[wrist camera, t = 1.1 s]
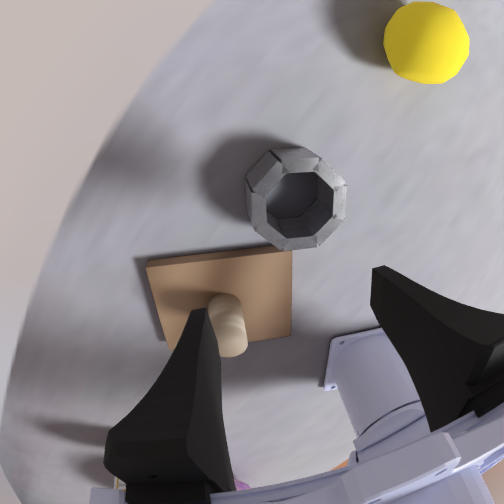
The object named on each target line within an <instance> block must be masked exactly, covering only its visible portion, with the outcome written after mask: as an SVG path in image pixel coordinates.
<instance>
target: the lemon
mask: <svg viewBox="0 0 504 504" xmlns="http://www.w3.org/2000/svg"><path fill="white" fill-rule="evenodd" d="M383 45H384V49H385V52H386V55H387V58H388V61H389V63H390V65H391V67H392V69H393V71H394V72H395V73H396V74H397V75H398V76H400V77H402V78H405V79H408V80H411V81H415V82H419V83H423V84H441V83H444V82H445V81H447V80H448V79H450V78H452V77H453V76H455V75H456V74H457V73H458V71H459V70H460V68H461V67H462V65H463V64H464V62H465V60H466V59H467V57H468V55H469V37H468V34H467V32H466V30H465V27H464V25H463V23H462V21H461V20H460V18H459V16H458V15H457V13H456V12H455V11H454V10H453V9H450V8H448V7H445V6H442V5H439V4H437V3H434V2H412V3H410V4H407V5H405V6H403V7H400V8H398V9H397V11H396V12H395V14H394V15H393V16H392V18H391V19H390V20H389V22H388V24H387V26H386V28H385V33H384V41H383Z"/></svg>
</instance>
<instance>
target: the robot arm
mask: <svg viewBox="0 0 504 504" xmlns="http://www.w3.org/2000/svg"><path fill="white" fill-rule="evenodd" d="M370 306H371V308H372V310H373V312H374V314H375V316H376V319H377V321H378V323H379V324H380V326H381V327H382V328H378V329H374V330H369V331H365V332H360V333H355V334H350V335H346V336H341V337H336V338H334V339H332V340H331V344H330V350H329V357H328V363H327V369H326V375H325V380H324V386H323V388H324V390H325V391H330V390H334V389H338V390H339V393H340V395H341V398H342V400H343V403H344V405H345V408H346V410H347V413H348V415H349V418H350V420H351V423H352V426H353V428H354V431H355V433H356V436H357V439H355V440H354V441H353V442H354V445H355V448H356V450H355V451H353V452H351V454H350V457H349V460H348V464H347V466H345V467H342V468H339V469H336V470H332V471H329V472H325V473H322V474H318V475H314V476H310V477H306V478H302V479H298V480H294V481H289V482H284V483H280V484H275V485H269V486H264V487H258V488H252V489H246V490H239V491H236V486H235V482H234V477H233V473H232V468H231V463H230V457H229V452H228V446H227V441H226V435H225V428H224V422H223V414H222V393H221V361H220V354H219V347H218V341H217V338H216V335H215V332H214V329H213V326H212V323H211V321H210V318H209V315H208V312H207V309H206V307H204V308H199V309H194V310H191V312H190V314H189V317H188V319H187V322H186V324H185V327H184V329H183V332H182V334H181V336H180V339H179V341H178V343H177V345H176V347H175V349H174V351H173V353H172V355H171V357H170V359H169V361H168V363H167V364H166V366H165V368H164V369H163V371H162V373H161V374H160V376H159V377H158V379H157V380H156V382H155V383H154V384H153V386H152V387H151V389H150V390H149V391H148V393H147V394H146V395H145V396H144V398H143V399H142V400H141V401H140V402H139V403H138V404H137V405H136V406H135V408H134V409H133V410H132V411H131V412H130V413H129V414H128V415H127V416H126V417H125V418H123V419H122V420H121V421H120V422H119V423H118V424H117V425H115V426H114V427H113V428H112V429H111V430H109V432H108V436H107V440H106V445H105V454H104V462H103V463H104V466H105V468H106V469H107V470H108V471H109V472H110V473H112V474H113V475H114V476H116V477H117V478H118V479H120V480H121V481H123V482H124V483H125V484H126V491H123V490H119V489H109V488H95V487H93V488H91V494H90V504H495V503H494V500H493V498H492V496H491V494H490V492H489V490H488V488H487V486H486V484H485V482H484V480H483V478H482V476H481V474H483V473H484V472H485V471H487V470H489V469H490V468H491V467H493V466H494V465H495V464H497V463H498V462H499V461H501V460H502V459H503V458H504V314H500V313H495V312H490V311H485V310H481V309H477V308H474V307H471V306H467V305H464V304H461V303H459V302H456V301H454V300H451V299H448V298H446V297H444V296H442V295H439V294H437V293H435V292H433V291H431V290H429V289H427V288H425V287H423V286H422V285H420V284H418V283H416V282H414V281H412V280H411V279H409V278H407V277H405V276H403V275H402V274H400V273H398V272H396V271H395V270H393V269H391V268H389V267H387V266H385V265H384V266H380V267H376V268H372V284H371V299H370Z"/></svg>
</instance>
